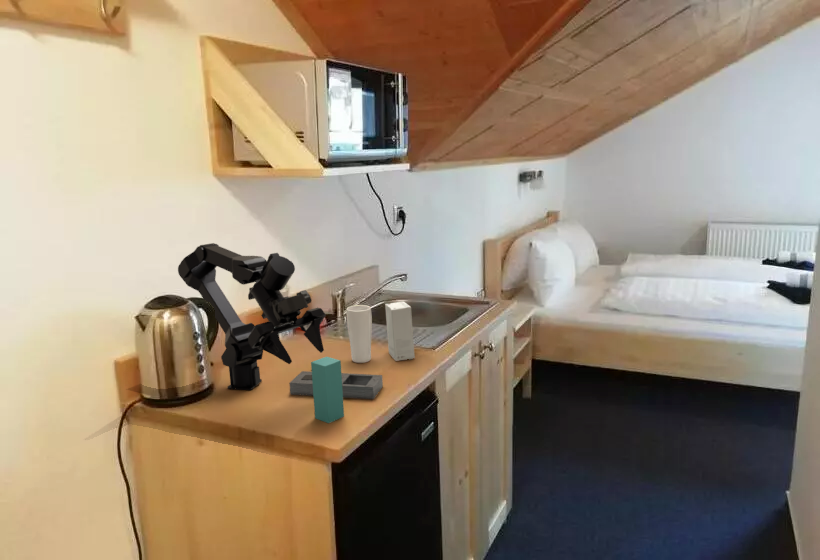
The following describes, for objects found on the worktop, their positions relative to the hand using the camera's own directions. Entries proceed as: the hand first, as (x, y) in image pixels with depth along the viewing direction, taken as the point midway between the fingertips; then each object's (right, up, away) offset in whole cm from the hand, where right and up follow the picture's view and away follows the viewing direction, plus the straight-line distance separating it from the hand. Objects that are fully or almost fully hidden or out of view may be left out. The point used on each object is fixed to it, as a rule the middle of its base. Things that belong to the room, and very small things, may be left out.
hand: (306, 357), depth 142 cm
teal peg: (+5, -13, -1) cm, 14 cm away
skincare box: (+20, -4, +37) cm, 43 cm away
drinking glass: (+10, -5, +35) cm, 36 cm away
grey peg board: (+5, -10, +14) cm, 18 cm away
